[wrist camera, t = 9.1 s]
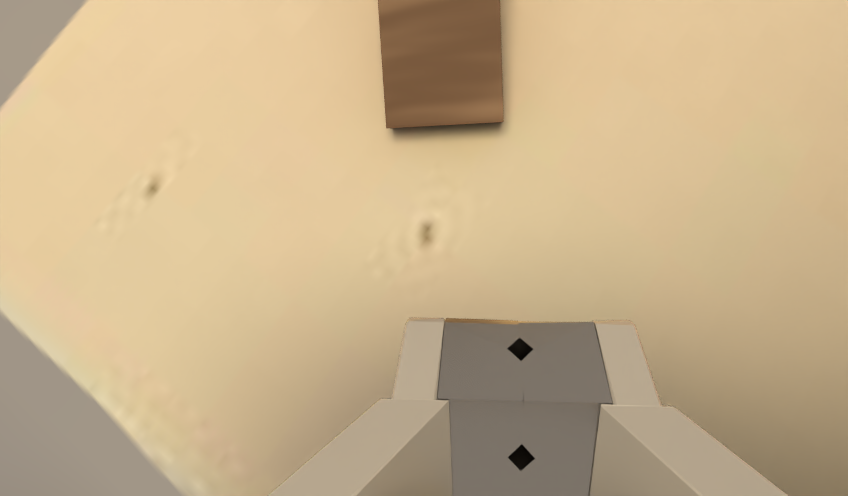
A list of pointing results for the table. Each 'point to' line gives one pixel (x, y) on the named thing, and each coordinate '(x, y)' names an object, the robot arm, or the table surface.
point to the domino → (441, 62)
